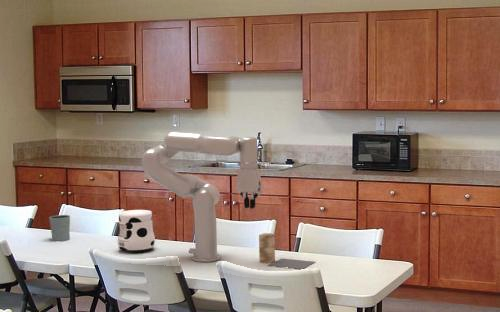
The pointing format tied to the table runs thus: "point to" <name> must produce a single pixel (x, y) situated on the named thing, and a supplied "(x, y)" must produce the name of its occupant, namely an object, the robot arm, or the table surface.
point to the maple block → (266, 248)
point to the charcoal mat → (291, 263)
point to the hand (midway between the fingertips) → (249, 207)
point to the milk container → (136, 231)
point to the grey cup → (60, 227)
